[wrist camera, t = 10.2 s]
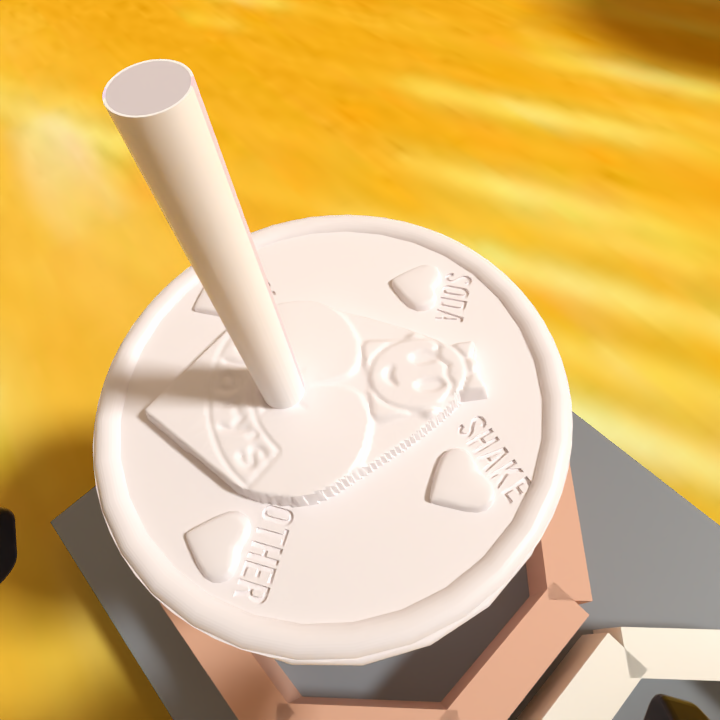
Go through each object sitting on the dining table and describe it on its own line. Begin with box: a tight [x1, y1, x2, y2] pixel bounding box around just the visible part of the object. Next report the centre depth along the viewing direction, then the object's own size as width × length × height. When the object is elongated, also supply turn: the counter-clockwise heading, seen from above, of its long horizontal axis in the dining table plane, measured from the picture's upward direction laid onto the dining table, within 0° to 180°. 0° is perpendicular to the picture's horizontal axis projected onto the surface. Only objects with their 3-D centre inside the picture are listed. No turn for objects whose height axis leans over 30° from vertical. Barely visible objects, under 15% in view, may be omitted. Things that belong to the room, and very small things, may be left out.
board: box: [51, 412, 720, 720], centre depth 13 cm, size 14×24×4 cm, turn 43°
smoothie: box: [93, 59, 573, 666], centre depth 9 cm, size 6×6×14 cm
